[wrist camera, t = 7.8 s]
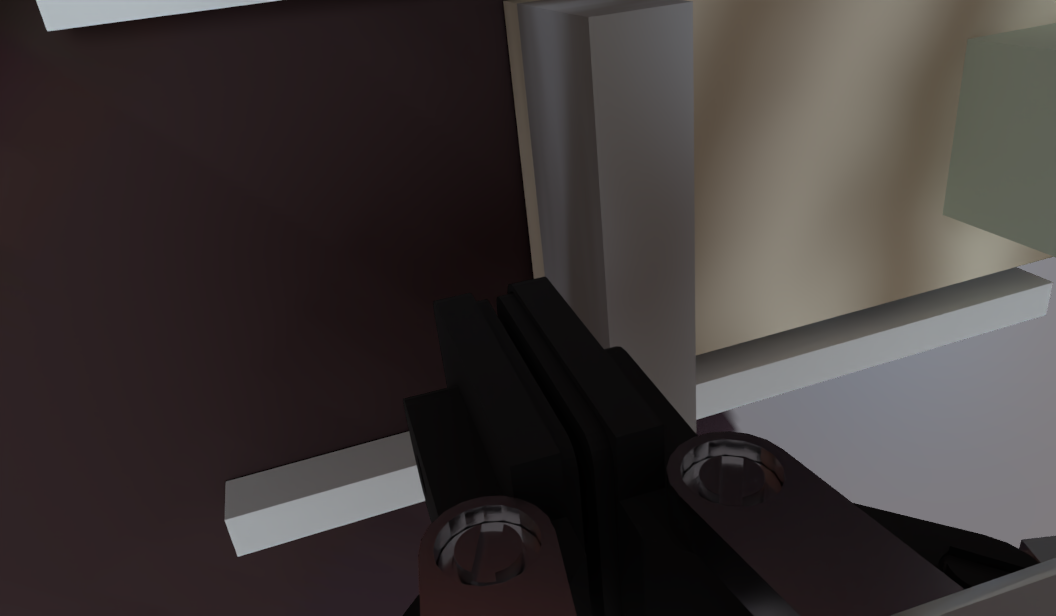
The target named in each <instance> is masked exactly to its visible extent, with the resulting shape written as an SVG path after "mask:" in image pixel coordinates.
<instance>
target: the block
mask: <svg viewBox="0 0 1056 616" xmlns="http://www.w3.org/2000/svg"><path fill="white" fill-rule="evenodd" d="M943 215H945V216H947V217H950V218H953V219H955V220H958V221H961V222H963V223H966V224H969V225H971V226H974V227H977V228H979V229H982V230H985V231H987V232H990V233H993V234H995V235H998V236H1000V237H1003V238H1006V239H1008V240H1011V241H1014V242H1016V243H1019V244H1022V245H1024V246H1027V247H1030V248H1032V249H1035V250H1038V251H1040V252H1043V253H1046V254H1048V255H1051V256H1054V257H1056V23H1053V24H1047V25H1042V26H1036V27H1031V28H1025V29H1020V30H1014V31H1009V32H1003V33H998V34H993V35H987V36H982V37H976V38H971V39H968V40H967V47H966V54H965V61H964V68H963V75H962V82H961V89H960V96H959V103H958V110H957V117H956V124H955V131H954V138H953V145H952V152H951V159H950V166H949V173H948V180H947V187H946V194H945V201H944V208H943Z"/></svg>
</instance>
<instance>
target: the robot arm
mask: <svg viewBox="0 0 1056 616" xmlns="http://www.w3.org/2000/svg"><path fill="white" fill-rule="evenodd" d="M433 305H434V314H435V320H436V326H437V331H438V337H439V343H440V349H441V354H442V360H443V366H444V372H445V377H446V383H447V388H445V389H441V390H437V391H433V392H429V393H425V394H421V395H417V396H413V397H409V398H405V399H403V402H404V408H405V413H406V418H407V423H408V428H409V433H410V438H411V442H412V447H413V452H414V456H415V461H416V465H417V469H418V473H419V478H420V482H421V486H422V490H423V494H424V497H425V501H426V505H427V508H428V512H429V516H430V519H431V524H430V526H429V527H428V529H427V531H426V532H425V534H424V536H423V537H422V539H421V543H420V549H419V555H418V561H419V595H418V596H417V598H416V599H415V600H414V602H413V603H412V604H411V605H410V607H409V608H408V609H407V611H406V612H405V613H404V614H403V616H1056V536H1051V537H1041V538H1032V539H1024V540H1021V544H1020V548H1019V549H1018V548H1016V547H1014V546H1012V545H1010V544H1008V543H1006V542H1003V541H1000V540H997V539H994V538H992V537H988V536H986V535H982V534H978V533H974V532H970V531H965V530H962V529H958V528H954V527H949V526H945V525H941V524H936V523H933V522H929V521H924V520H920V519H917V518H912V517H908V516H904V515H900V514H896V513H892V512H888V511H884V510H880V509H875V508H872V507H867V506H863V505H859V504H855V503H852V502H850V501H849V500H848V499H847V498H845V497H844V496H843V495H841V494H840V493H839V492H838V491H836V490H835V489H834V488H832V487H831V486H830V485H829V484H827V483H826V482H825V481H823V480H822V479H821V478H819V477H818V476H817V475H815V474H814V473H813V472H812V471H810V470H809V469H808V468H806V467H805V466H804V465H803V464H801V463H800V462H799V461H797V460H796V459H795V458H793V457H792V456H791V455H790V454H788V453H787V452H785V451H784V450H783V449H782V448H780V447H778V446H776V445H774V444H773V443H771V442H770V441H768V440H766V439H763V438H760V437H756V436H753V435H750V434H745V433H737V432H730V431H728V432H712V433H707V434H703V435H700V436H698V435H697V434H696V433H695V432H694V431H693V430H692V428H691V427H690V426H689V425H688V424H687V422H686V421H685V420H684V419H683V418H682V416H681V415H680V414H679V413H678V412H677V411H676V409H675V408H674V407H673V406H672V405H671V403H670V402H669V401H668V400H667V399H666V398H665V396H664V395H663V394H662V393H661V392H660V390H659V389H658V388H657V387H656V386H655V384H654V383H653V382H652V381H651V380H650V379H649V377H648V376H647V375H646V374H645V373H644V371H643V370H642V369H641V368H640V367H639V366H638V364H637V363H636V362H635V361H634V360H633V358H632V357H631V356H630V355H629V354H628V353H627V351H626V350H624V349H623V348H622V347H620V346H615V347H611V348H607V349H603V347H602V346H601V345H600V344H599V342H598V341H597V340H596V339H595V337H594V336H593V335H592V334H591V332H590V331H589V330H588V329H587V327H586V326H585V325H584V323H583V322H582V321H581V320H580V318H579V317H578V316H577V315H576V313H575V312H574V311H573V310H572V308H571V307H570V306H569V305H568V303H567V302H566V301H565V300H564V298H563V297H562V296H561V295H560V293H559V292H558V291H557V290H556V288H555V287H554V286H553V285H552V283H551V282H550V281H549V279H548V278H546V277H545V276H544V277H540V278H535V279H531V280H526V281H522V282H517V283H513V284H509V285H508V295H503V296H499V297H497V312H498V316H497V315H496V313H495V311H494V310H493V308H492V306H491V304H490V303H489V301H488V300H487V299H485V300H481V301H475V299H474V297H473V295H472V294H471V293H468V294H463V295H459V296H454V297H450V298H445V299H441V300H436V301H434V303H433Z"/></svg>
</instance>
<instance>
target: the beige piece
mask: <svg viewBox="0 0 1056 616" xmlns="http://www.w3.org/2000/svg"><path fill="white" fill-rule="evenodd" d="M503 4H504V13H505V22H506V31H507V40H508V49H509V58H510V67H511V76H512V85H513V94H514V103H515V112H516V121H517V130H518V140H519V149H520V158H521V167H522V176H523V185H524V194H525V203H526V212H527V221H528V230H529V239H530V248H531V257H532V266H533V275H534V279H535V278H540V277H544V276H545V277H546V278H548V279H549V281H550V282H551V283H552V285H553V286H554V287H555V288H556V290H557V291H558V292H559V293H560V295H561V296H562V297H563V298H564V300H565V301H566V302H567V303H568V305H569V306H570V307H571V308H572V310H573V311H574V312H575V313H576V315H577V316H578V317H579V318H580V320H581V321H582V322H583V323H584V325H585V326H586V327H587V329H588V330H589V331H590V332H591V334H592V335H593V336H594V337H595V339H596V340H597V341H598V342H599V344H600V345H601V346H602V347H603V349H607V348H611V347H615V346H620V347H622V348H623V349H624V350H626V351H627V353H628V354H629V355H630V356H631V357H632V358H633V360H634V361H635V362H636V363H637V364H638V366H639V367H640V368H641V369H642V370H643V371H644V373H645V374H646V375H647V376H648V377H649V379H650V380H651V381H652V382H653V383H654V384H655V386H656V387H657V388H658V389H659V390H660V392H661V393H662V394H663V395H664V396H665V398H666V399H667V400H668V401H669V402H670V403H671V405H672V406H673V407H674V408H675V409H676V411H677V412H678V413H679V414H680V415H681V416H682V418H683V419H684V420H685V421H686V422H687V424H688V425H689V426H690V427H691V428H692V430H693V431H694V432H695V433H696V355H700V354H703V353H707V352H710V351H714V350H718V349H721V348H725V347H728V346H732V345H736V344H739V343H743V342H747V341H750V340H754V339H757V338H761V337H765V336H768V335H772V334H775V333H779V332H783V331H786V330H790V329H794V328H797V327H801V326H804V325H808V324H812V323H815V322H819V321H823V320H826V319H830V318H833V317H837V316H841V315H844V314H848V313H851V312H855V311H859V310H862V309H866V308H870V307H873V306H877V305H880V304H884V303H888V302H891V301H895V300H898V299H902V298H906V297H909V296H913V295H917V294H920V293H924V292H927V291H931V290H935V289H938V288H942V287H945V286H949V285H953V284H956V283H960V282H964V281H967V280H971V279H974V278H978V277H982V276H985V275H989V274H992V273H996V272H1000V271H1003V270H1007V269H1011V268H1014V267H1018V266H1021V265H1025V264H1028V263H1032V262H1036V261H1039V260H1043V259H1046V258H1050V257H1054V256H1051V255H1048V254H1046V253H1043V252H1040V251H1038V250H1035V249H1032V248H1030V247H1027V246H1024V245H1022V244H1019V243H1016V242H1014V241H1011V240H1008V239H1006V238H1003V237H1000V236H998V235H995V234H993V233H990V232H987V231H985V230H982V229H979V228H977V227H974V226H971V225H969V224H966V223H963V222H961V221H958V220H955V219H953V218H950V217H947V216H945V215H943V208H944V201H945V194H946V187H947V180H948V173H949V166H950V159H951V152H952V145H953V138H954V131H955V124H956V117H957V110H958V103H959V96H960V89H961V82H962V75H963V68H964V61H965V54H966V47H967V40H968V39H971V38H976V37H982V36H987V35H993V34H998V33H1003V32H1009V31H1014V30H1020V29H1025V28H1031V27H1036V26H1042V25H1047V24H1053V23H1056V0H507V1H503Z"/></svg>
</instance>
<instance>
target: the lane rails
mask: <svg viewBox="0 0 1056 616" xmlns="http://www.w3.org/2000/svg"><path fill="white" fill-rule="evenodd" d="M36 1H37V4H38V7H39V10H40V12H41V15H42V18H43V21H44V23H45V26H46V29H47V31H54V30H61V29H69V28H76V27H84V26H92V25H99V24H107V23H114V22H122V21H129V20H137V19H144V18H152V17H159V16H167V15H174V14H182V13H189V12H197V11H204V10H212V9H219V8H227V7H234V6H242V5H249V4H257V3H264V2H272V1H280V0H36ZM1052 286H1053V282H1051V281H1048V280H1046V279H1043V278H1041V277H1039V276H1036V275H1034V274H1031V273H1029V272H1026V271H1024V270H1022V269H1019V268H1017V267H1014V268H1011V269H1007V270H1003V271H1000V272H996V273H992V274H989V275H985V276H982V277H978V278H974V279H971V280H967V281H964V282H960V283H956V284H953V285H949V286H945V287H942V288H938V289H935V290H931V291H927V292H924V293H920V294H917V295H913V296H909V297H906V298H902V299H898V300H895V301H891V302H888V303H884V304H880V305H877V306H873V307H870V308H866V309H862V310H859V311H855V312H851V313H848V314H844V315H841V316H837V317H833V318H830V319H826V320H823V321H819V322H815V323H812V324H808V325H804V326H801V327H797V328H794V329H790V330H786V331H783V332H779V333H775V334H772V335H768V336H765V337H761V338H757V339H754V340H750V341H747V342H743V343H739V344H736V345H732V346H728V347H725V348H721V349H718V350H714V351H710V352H707V353H703V354H700V355H696V420H697V419H700V418H704V417H707V416H710V415H714V414H717V413H720V412H724V411H727V410H730V409H734V408H737V407H740V406H744V405H747V404H750V403H754V402H757V401H761V400H764V399H767V398H771V397H774V396H777V395H781V394H784V393H787V392H791V391H794V390H797V389H801V388H804V387H807V386H811V385H814V384H817V383H821V382H824V381H827V380H831V379H834V378H838V377H841V376H844V375H847V374H851V373H854V372H858V371H861V370H864V369H868V368H871V367H874V366H878V365H881V364H884V363H888V362H891V361H894V360H898V359H901V358H904V357H908V356H911V355H914V354H918V353H921V352H924V351H928V350H931V349H934V348H938V347H941V346H945V345H947V344H951V343H955V342H958V341H961V340H965V339H968V338H971V337H975V336H978V335H981V334H985V333H987V332H991V331H995V330H998V329H1001V328H1005V327H1008V326H1011V325H1015V324H1018V323H1021V322H1025V321H1028V320H1031V319H1035V318H1038V317H1041V316H1045V315H1046V313H1047V309H1048V304H1049V300H1050V295H1051V291H1052ZM423 501H425V497H424V494H423V490H422V486H421V482H420V478H419V473H418V469H417V465H416V461H415V456H414V452H413V447H412V442H411V438H410V433H409V431H408V432H404V433H401V434H397V435H393V436H390V437H386V438H382V439H379V440H375V441H371V442H368V443H364V444H361V445H357V446H353V447H350V448H346V449H342V450H339V451H335V452H332V453H328V454H324V455H321V456H317V457H313V458H310V459H306V460H302V461H299V462H295V463H292V464H288V465H284V466H281V467H277V468H273V469H270V470H266V471H263V472H259V473H255V474H252V475H248V476H244V477H241V478H237V479H233V480H230V481H226V488H225V523H226V525H227V528H228V531H229V534H230V536H231V539H232V542H233V545H234V548H235V550H236V553H237V556H238V557H239V556H242V555H246V554H249V553H252V552H256V551H259V550H262V549H266V548H269V547H272V546H276V545H279V544H282V543H286V542H289V541H292V540H296V539H299V538H302V537H306V536H309V535H312V534H316V533H319V532H322V531H326V530H329V529H333V528H336V527H339V526H343V525H346V524H349V523H353V522H356V521H359V520H363V519H366V518H369V517H373V516H376V515H379V514H383V513H386V512H389V511H393V510H396V509H399V508H403V507H406V506H409V505H413V504H416V503H419V502H423Z"/></svg>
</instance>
